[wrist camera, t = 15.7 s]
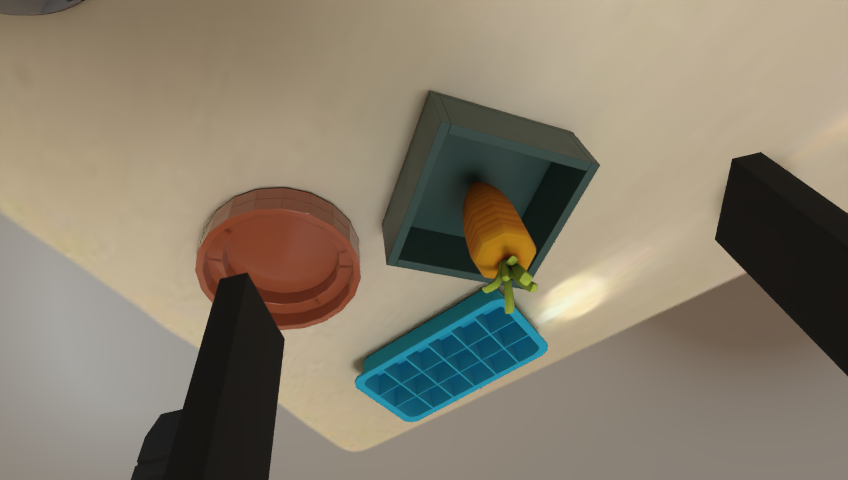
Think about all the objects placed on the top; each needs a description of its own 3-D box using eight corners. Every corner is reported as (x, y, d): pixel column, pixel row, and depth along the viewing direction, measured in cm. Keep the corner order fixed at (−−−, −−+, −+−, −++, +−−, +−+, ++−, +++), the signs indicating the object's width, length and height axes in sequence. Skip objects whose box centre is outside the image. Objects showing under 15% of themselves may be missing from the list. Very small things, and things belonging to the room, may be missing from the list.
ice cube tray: (349, 361, 59) (349, 383, 57) (496, 275, 54) (503, 294, 51) (407, 404, 66) (410, 424, 63) (543, 330, 60) (552, 350, 58)
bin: (381, 224, 48) (386, 265, 43) (429, 90, 41) (440, 121, 36) (509, 250, 52) (525, 290, 47) (573, 132, 45) (600, 165, 40)
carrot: (477, 215, 48) (521, 332, 36) (437, 189, 46) (470, 306, 34) (513, 177, 46) (572, 289, 34) (473, 149, 44) (522, 258, 32)
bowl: (198, 293, 50) (190, 318, 47) (212, 170, 42) (203, 192, 40) (339, 313, 54) (339, 338, 52) (376, 205, 47) (378, 227, 44)
